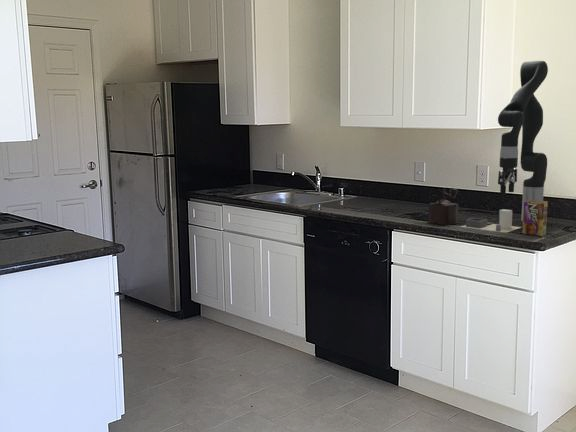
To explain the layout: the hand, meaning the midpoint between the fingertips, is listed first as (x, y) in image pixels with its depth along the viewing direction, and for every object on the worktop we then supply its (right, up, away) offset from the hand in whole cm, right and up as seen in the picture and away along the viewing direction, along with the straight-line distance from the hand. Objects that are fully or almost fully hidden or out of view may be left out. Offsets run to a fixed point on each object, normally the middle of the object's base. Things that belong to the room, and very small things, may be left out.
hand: (507, 193), depth 290 cm
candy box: (+8, -19, -11) cm, 23 cm away
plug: (0, -16, +3) cm, 16 cm away
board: (-6, -16, +5) cm, 18 cm away
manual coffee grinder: (-22, -14, +20) cm, 33 cm away
